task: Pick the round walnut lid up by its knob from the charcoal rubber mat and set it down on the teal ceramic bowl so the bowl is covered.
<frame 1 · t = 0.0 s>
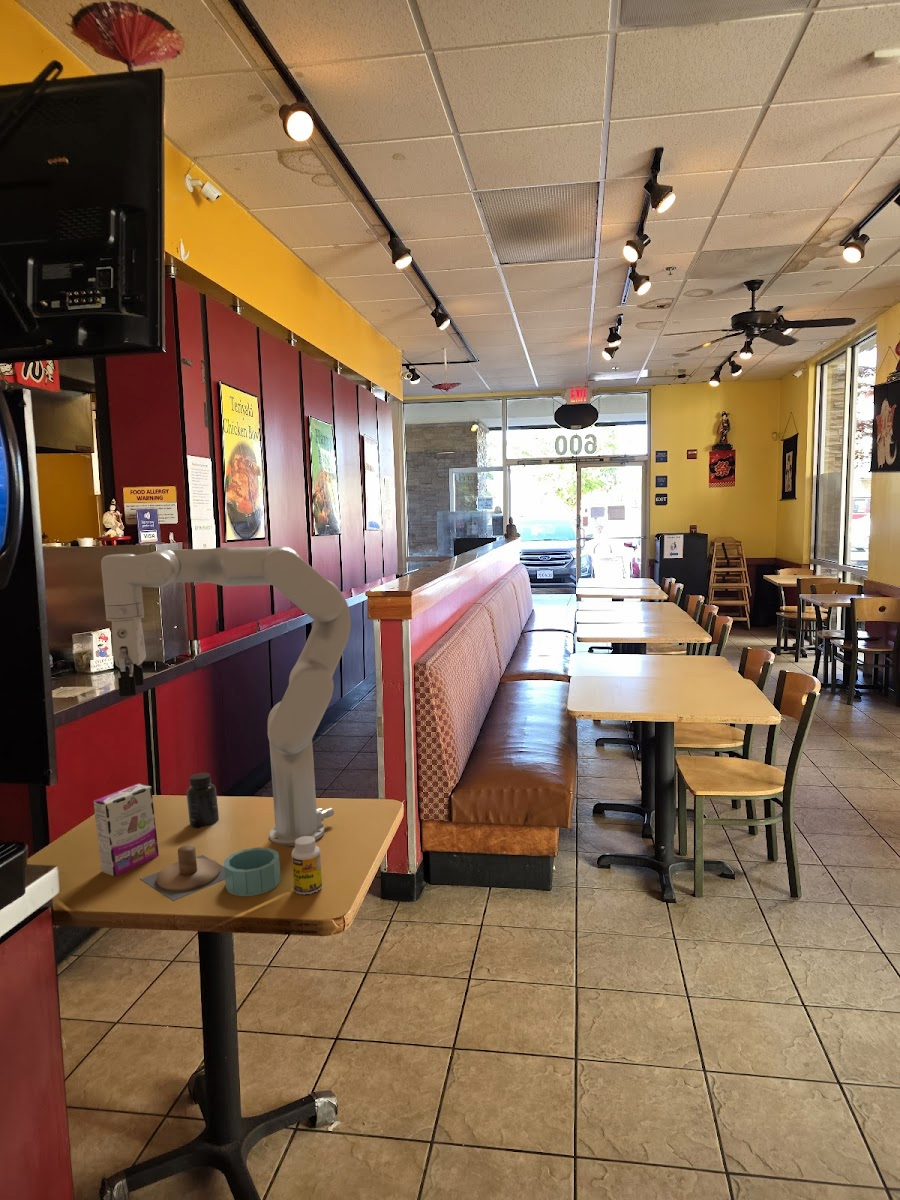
hand: (132, 690, 168), 37 cm above the table, tool pointing down, fingers open, 9 cm apart
candy bar box: (130, 866, 167), on the table
mat: (189, 879, 160), on the table
supplement bottle: (204, 824, 189), on the table
supplement bottle 2: (308, 890, 154), on the table
lid: (188, 876, 160), point 1 cm above the table, touching mat
bowl: (253, 885, 156), on the table
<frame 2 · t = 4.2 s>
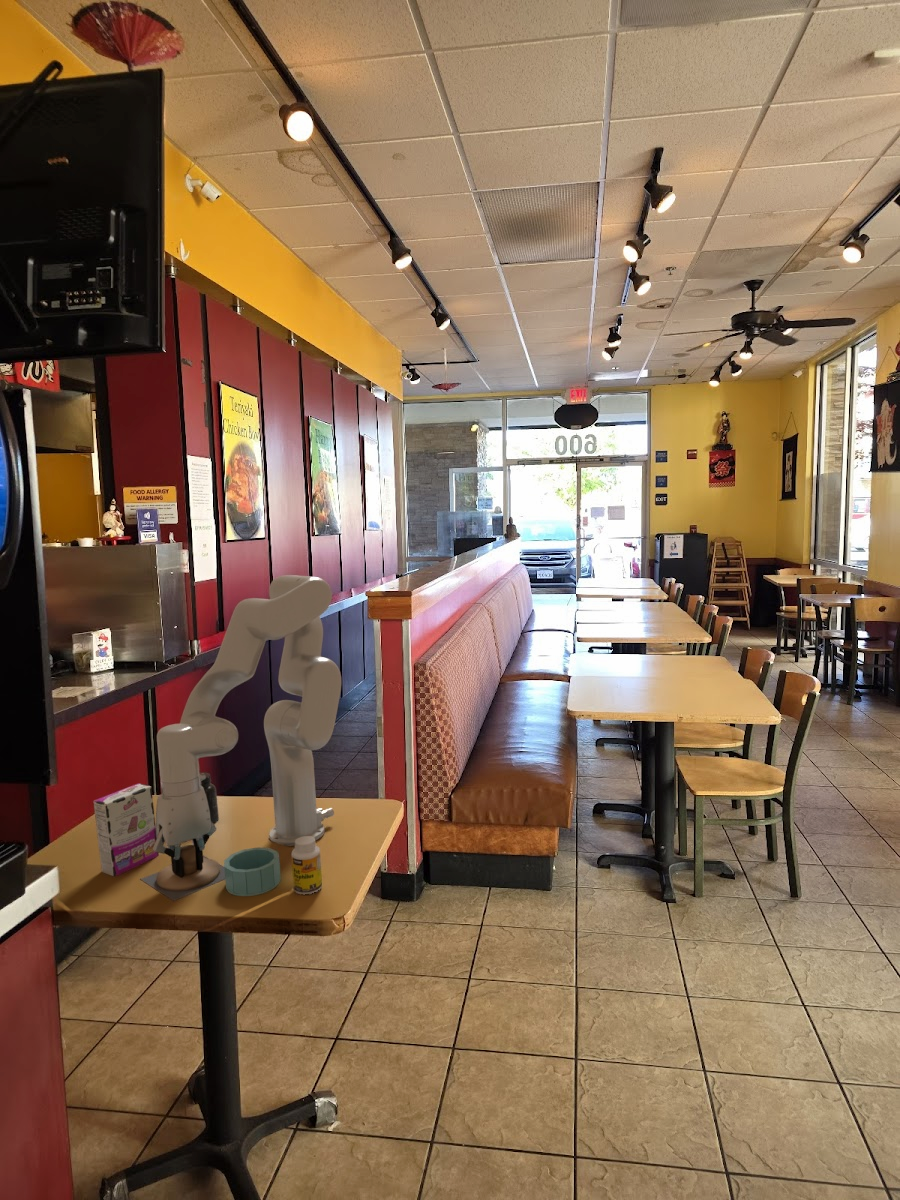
hand: (188, 870, 160), 2 cm above the table, tool pointing down, fingers closed on lid, 3 cm apart
lid: (188, 876, 160), point 1 cm above the table, touching gripper, mat
everything else where it was.
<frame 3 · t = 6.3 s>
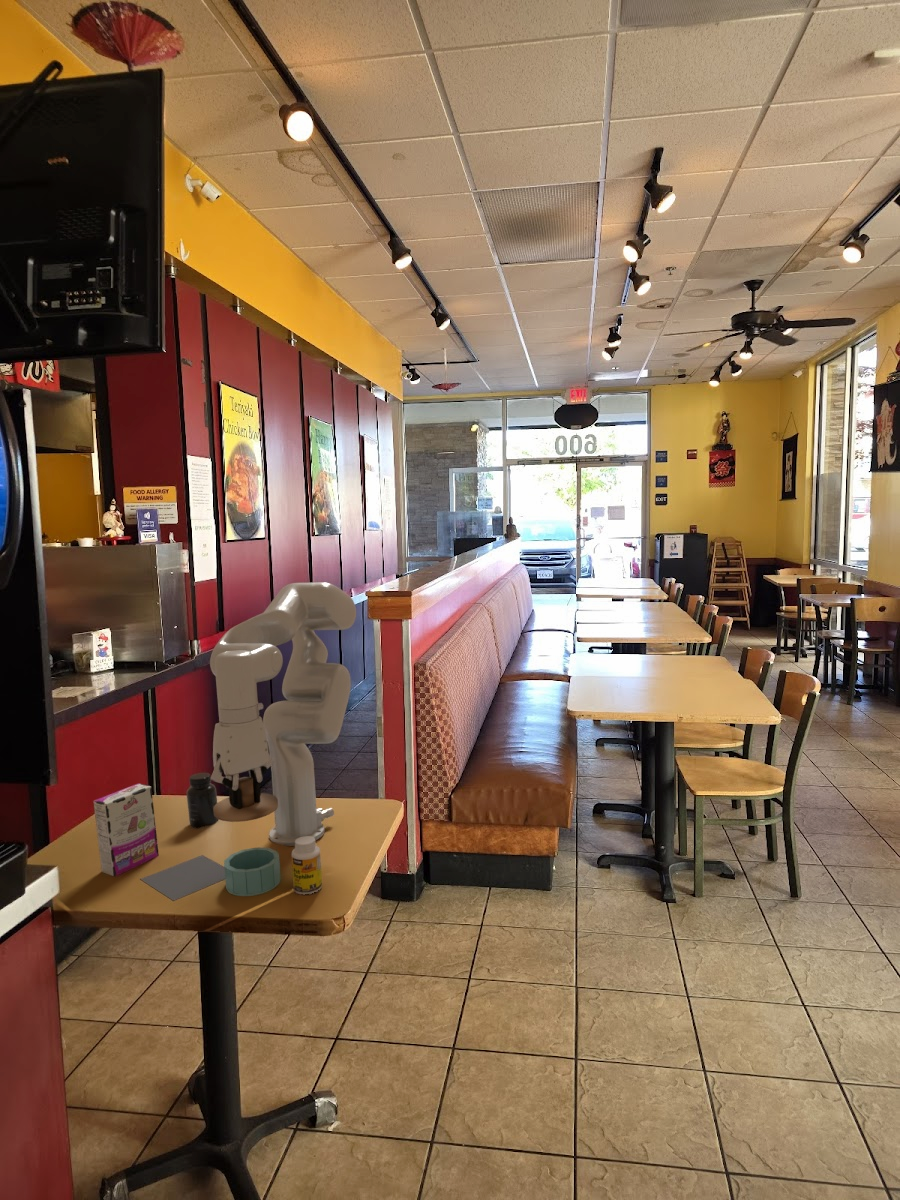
hand: (245, 803, 154), 17 cm above the table, tool pointing down, fingers closed on lid, 3 cm apart
lid: (246, 809, 154), point 16 cm above the table, touching gripper
everything else where it was.
when the fingers open (8 cm above the table, at t = 8.4 s): lid drops 1 cm, resting on bowl.
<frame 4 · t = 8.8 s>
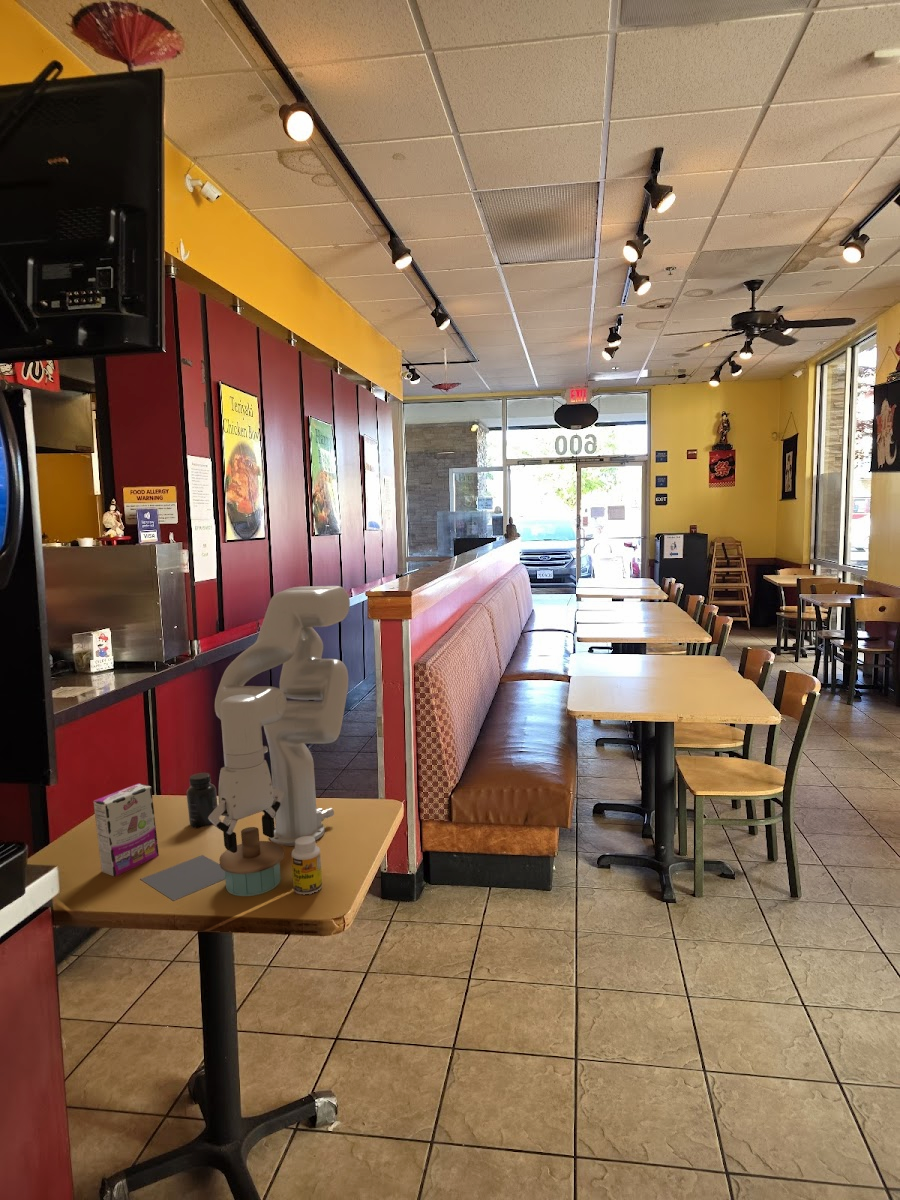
hand: (250, 842, 155), 9 cm above the table, tool pointing down, fingers open, 8 cm apart
lid: (252, 859, 156), point 5 cm above the table, touching bowl
everything else where it was.
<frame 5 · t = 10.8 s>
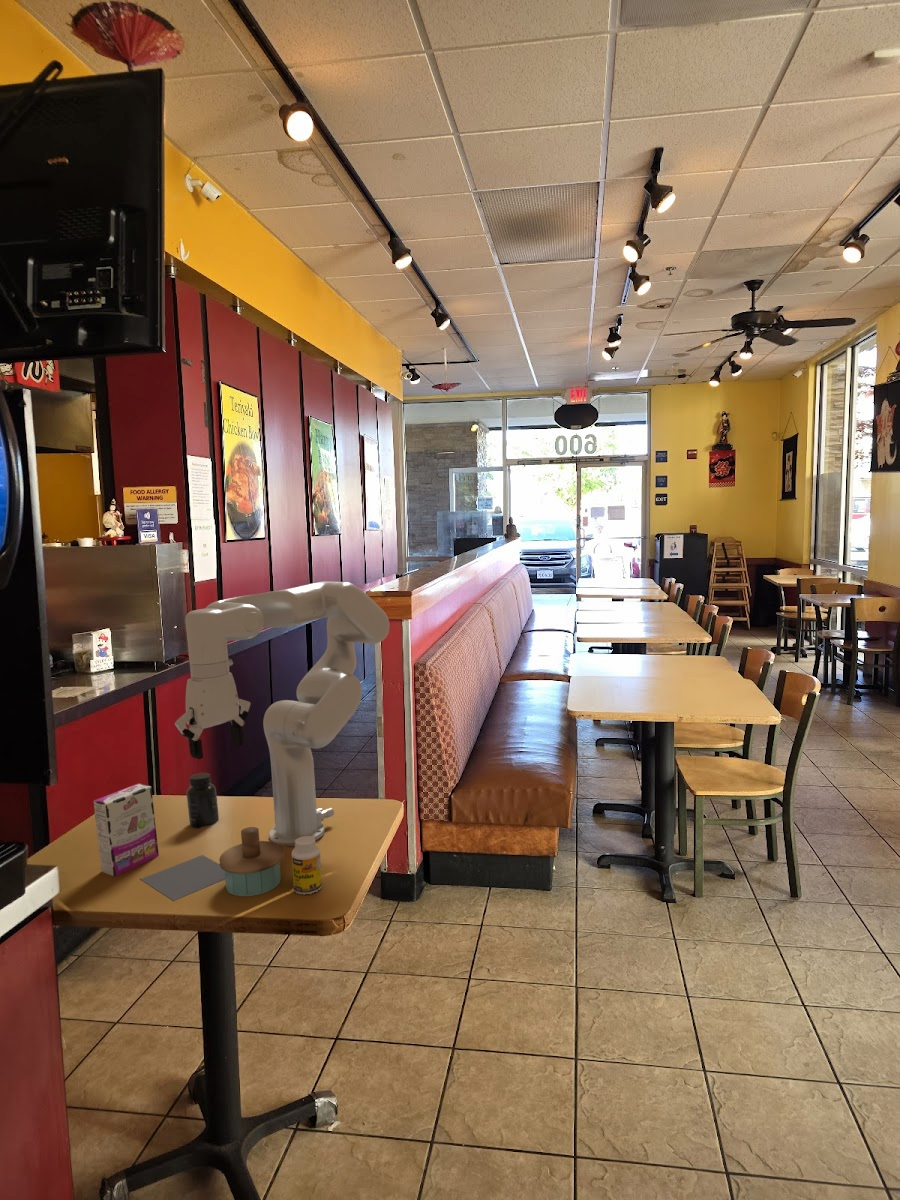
hand: (217, 750, 160), 26 cm above the table, tool pointing down, fingers open, 9 cm apart
nothing on the table moved.
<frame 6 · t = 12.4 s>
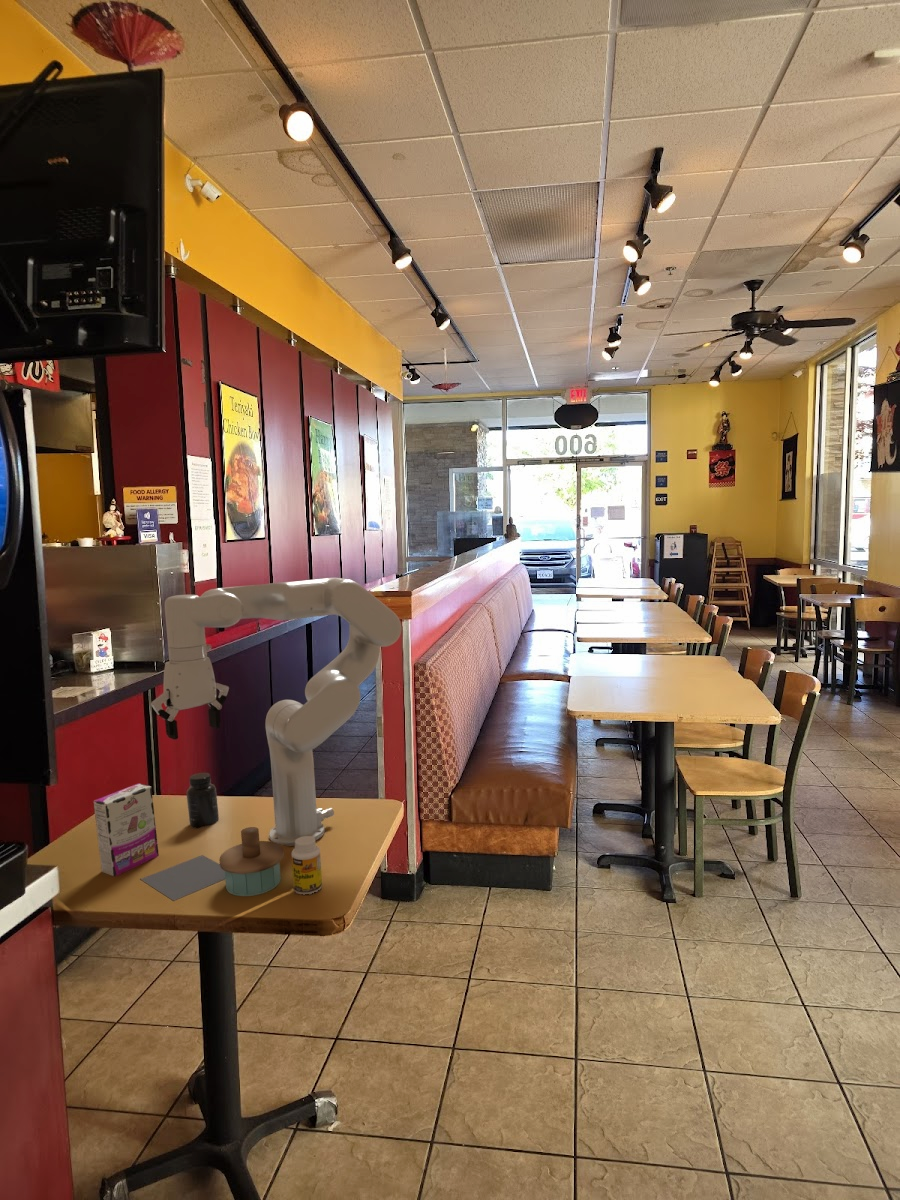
hand: (194, 732, 166), 28 cm above the table, tool pointing down, fingers open, 9 cm apart
nothing on the table moved.
at the end: lid 0.1 cm off-centre on the bowl, point 5.5 cm above the bowl's base; lid tilted 0°; the gripper is holding nothing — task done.
